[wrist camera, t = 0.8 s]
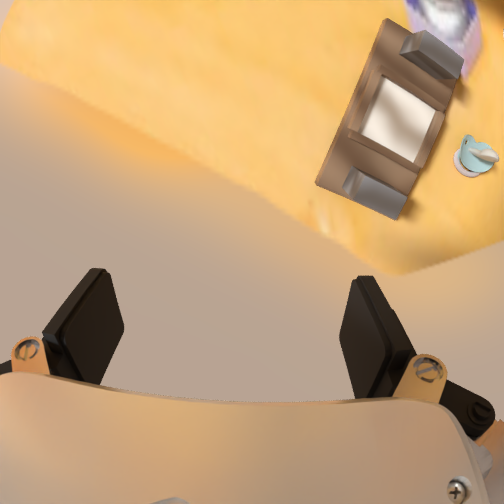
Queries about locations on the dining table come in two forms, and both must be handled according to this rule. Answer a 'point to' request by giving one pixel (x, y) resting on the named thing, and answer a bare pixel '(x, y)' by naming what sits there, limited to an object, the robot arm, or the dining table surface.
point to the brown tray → (391, 119)
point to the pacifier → (474, 157)
